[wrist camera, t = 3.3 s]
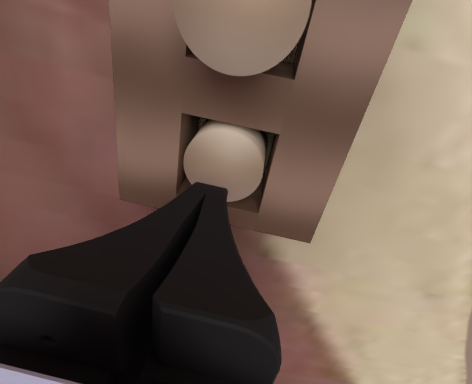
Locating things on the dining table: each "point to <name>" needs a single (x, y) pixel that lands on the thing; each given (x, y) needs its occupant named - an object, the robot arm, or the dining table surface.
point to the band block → (248, 106)
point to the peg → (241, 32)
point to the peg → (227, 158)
